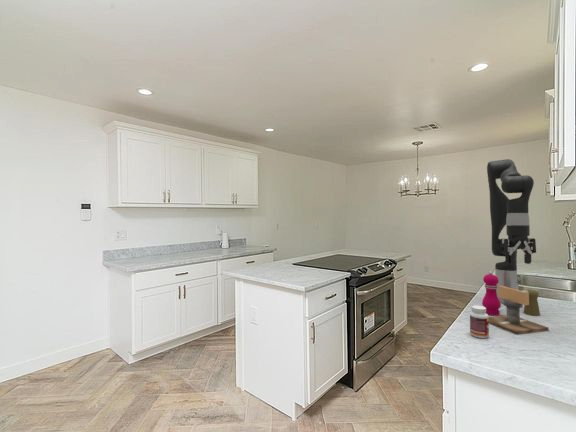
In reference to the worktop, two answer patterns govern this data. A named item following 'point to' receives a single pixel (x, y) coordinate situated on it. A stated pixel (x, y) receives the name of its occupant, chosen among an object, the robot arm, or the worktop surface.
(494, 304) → the pepper mill
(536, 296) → the cork
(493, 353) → the worktop surface
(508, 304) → the tan long piece
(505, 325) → the square stand base
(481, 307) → the pill bottle
